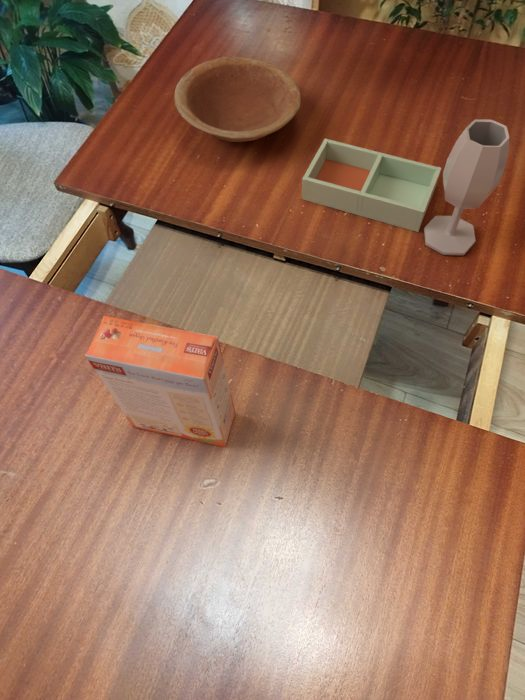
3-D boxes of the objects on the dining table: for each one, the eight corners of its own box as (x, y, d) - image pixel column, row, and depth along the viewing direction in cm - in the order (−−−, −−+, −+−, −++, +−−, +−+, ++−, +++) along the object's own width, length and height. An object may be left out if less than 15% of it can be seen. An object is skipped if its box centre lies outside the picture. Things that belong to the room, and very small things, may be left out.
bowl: (262, 183, 100) (260, 148, 93) (158, 144, 107) (149, 108, 100) (320, 109, 110) (322, 72, 103) (221, 77, 116) (217, 40, 109)
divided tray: (435, 188, 97) (441, 167, 93) (418, 232, 92) (424, 212, 88) (323, 159, 102) (324, 138, 98) (301, 199, 98) (302, 178, 93)
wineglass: (429, 212, 95) (462, 106, 76) (479, 225, 93) (526, 119, 74) (416, 249, 91) (447, 146, 72) (468, 263, 89) (514, 161, 71)
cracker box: (237, 410, 78) (220, 334, 60) (225, 449, 75) (204, 382, 57) (145, 390, 80) (103, 311, 62) (131, 427, 77) (82, 356, 59)
